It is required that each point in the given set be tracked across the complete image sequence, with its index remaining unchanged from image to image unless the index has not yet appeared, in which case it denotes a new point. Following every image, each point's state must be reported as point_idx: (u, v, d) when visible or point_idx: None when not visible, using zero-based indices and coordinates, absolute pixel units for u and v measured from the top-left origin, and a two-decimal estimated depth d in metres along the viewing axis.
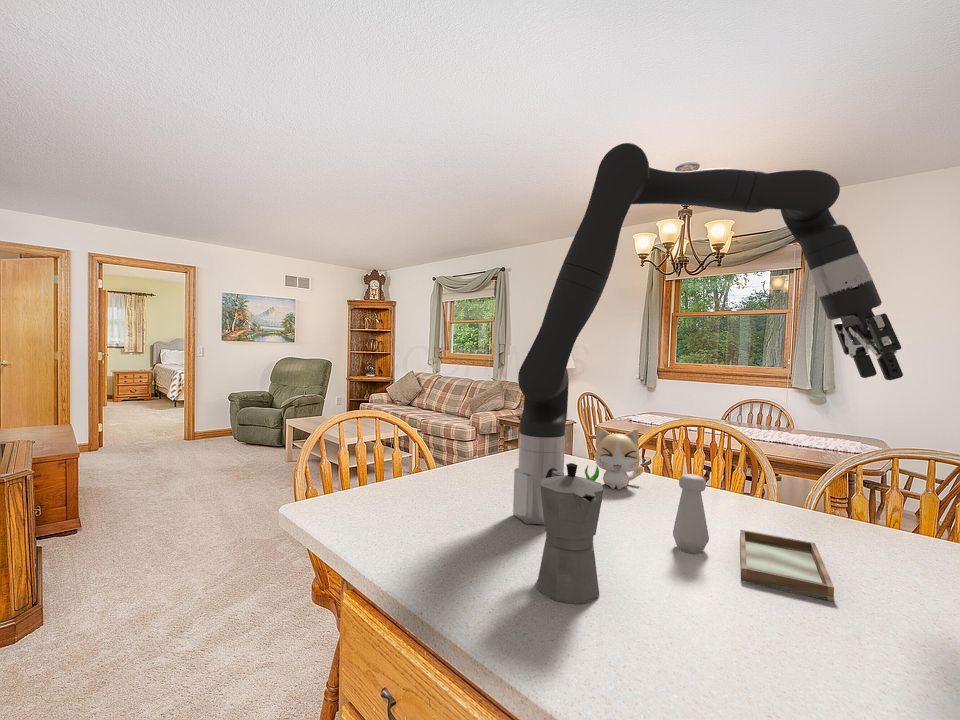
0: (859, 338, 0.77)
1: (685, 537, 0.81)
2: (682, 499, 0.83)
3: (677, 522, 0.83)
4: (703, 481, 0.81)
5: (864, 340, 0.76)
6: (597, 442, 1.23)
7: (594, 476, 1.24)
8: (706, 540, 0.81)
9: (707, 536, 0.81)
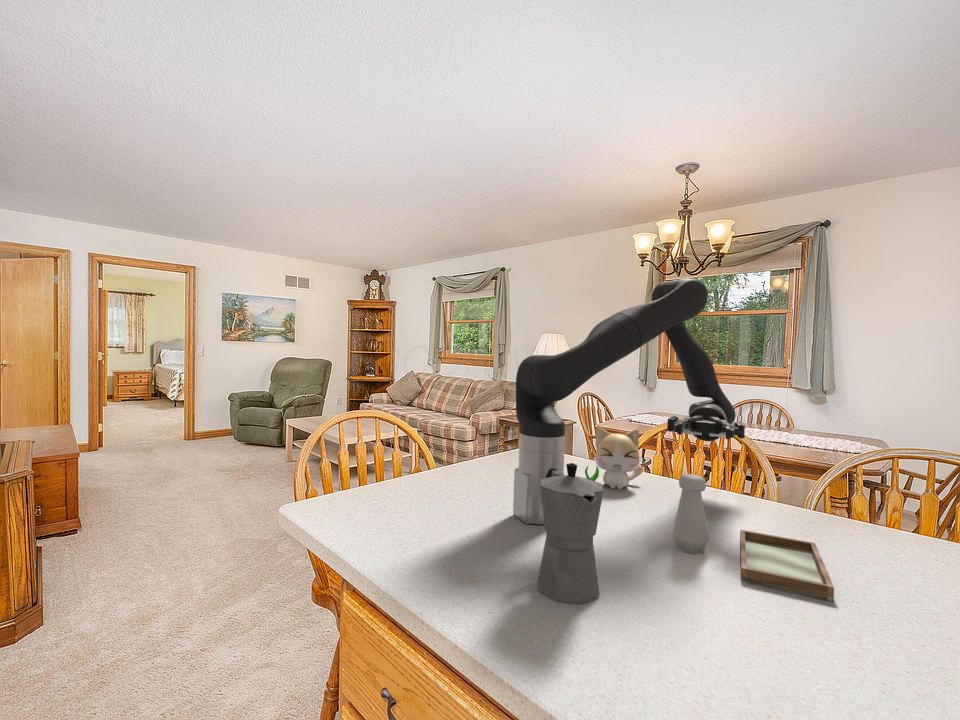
0: (719, 419, 0.97)
1: (685, 537, 0.81)
2: (682, 499, 0.83)
3: (677, 522, 0.83)
4: (703, 481, 0.81)
5: (724, 421, 0.96)
6: (597, 442, 1.23)
7: (594, 476, 1.24)
8: (706, 540, 0.81)
9: (707, 536, 0.81)
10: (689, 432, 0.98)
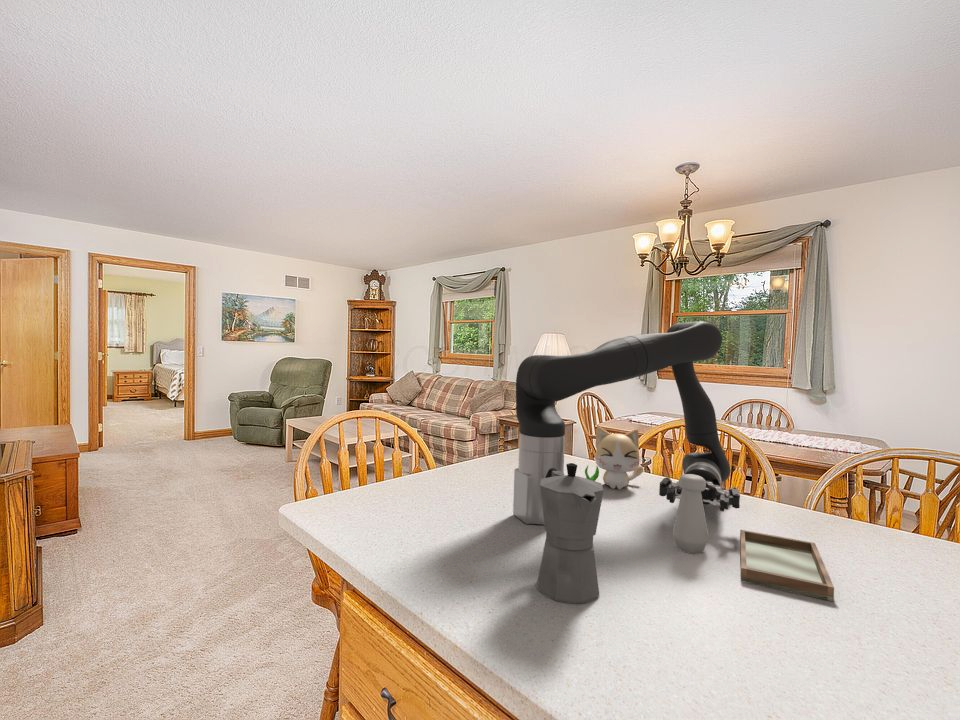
0: (713, 485, 0.93)
1: (685, 537, 0.81)
2: (682, 499, 0.83)
3: (677, 522, 0.83)
4: (703, 481, 0.81)
5: None
6: (597, 442, 1.23)
7: (594, 476, 1.24)
8: (706, 540, 0.81)
9: (707, 536, 0.81)
10: None
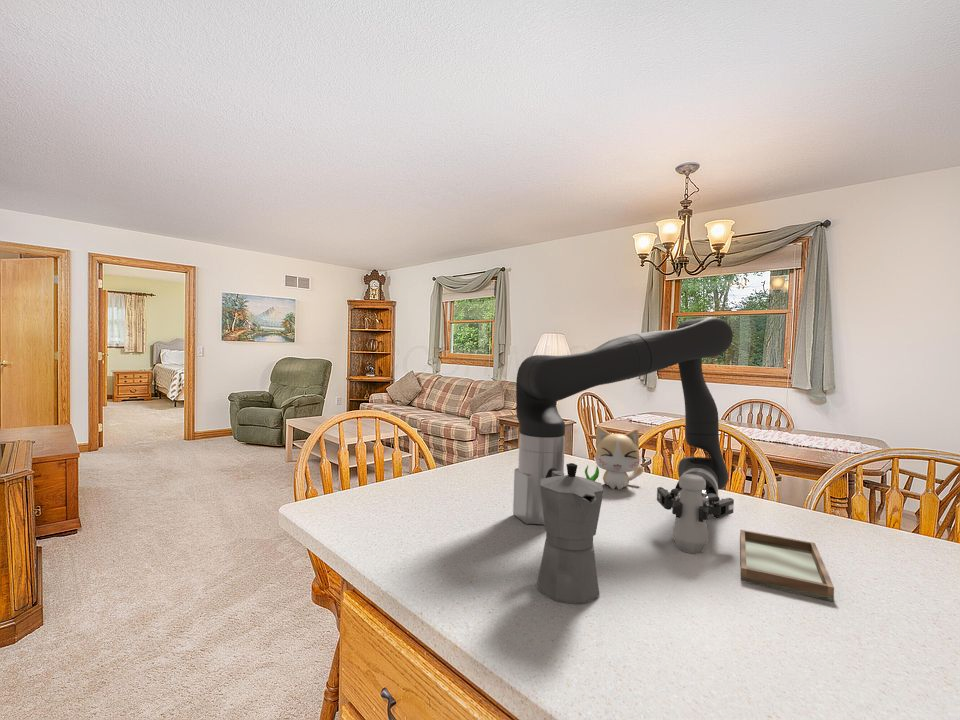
0: (703, 494, 0.87)
1: (684, 537, 0.81)
2: (682, 499, 0.83)
3: (677, 522, 0.83)
4: (703, 481, 0.81)
5: (707, 496, 0.86)
6: (597, 442, 1.23)
7: (594, 476, 1.24)
8: (706, 540, 0.81)
9: (707, 536, 0.81)
10: None
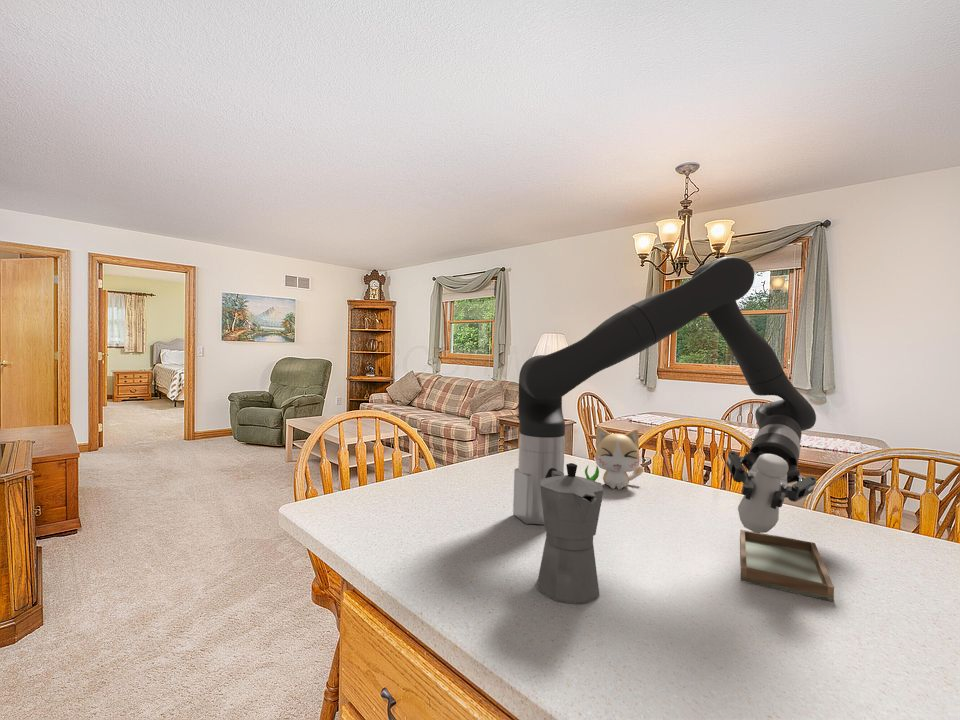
0: None
1: (751, 518, 0.76)
2: (756, 480, 0.75)
3: (745, 500, 0.77)
4: (785, 468, 0.72)
5: (786, 474, 0.77)
6: (597, 442, 1.23)
7: (594, 476, 1.24)
8: (775, 523, 0.75)
9: (777, 519, 0.76)
10: None
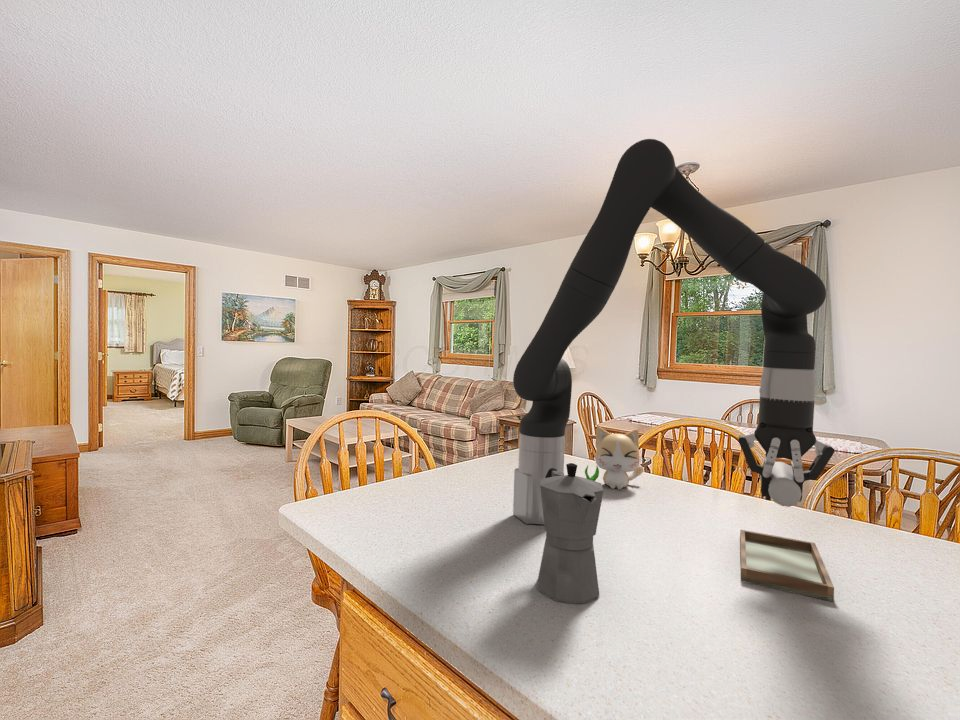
0: (796, 455, 0.75)
1: None
2: None
3: None
4: (798, 501, 0.72)
5: (801, 461, 0.75)
6: (597, 442, 1.23)
7: (594, 476, 1.24)
8: None
9: None
10: None
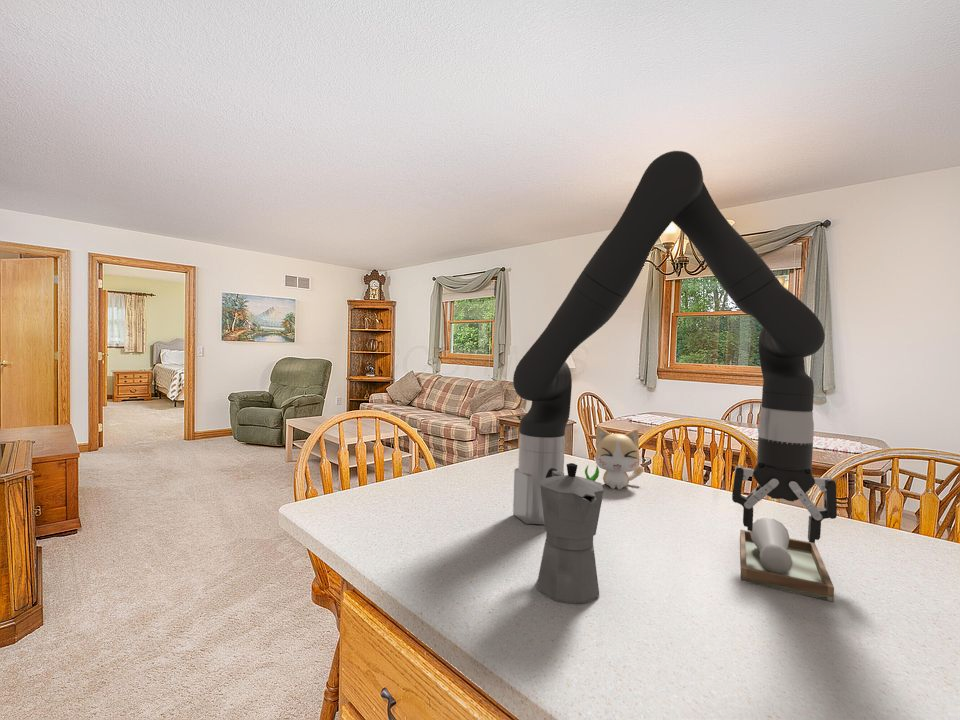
0: (802, 495, 0.74)
1: None
2: None
3: None
4: (791, 565, 0.72)
5: (809, 499, 0.74)
6: (597, 442, 1.23)
7: (594, 476, 1.24)
8: (788, 539, 0.80)
9: (788, 536, 0.80)
10: None
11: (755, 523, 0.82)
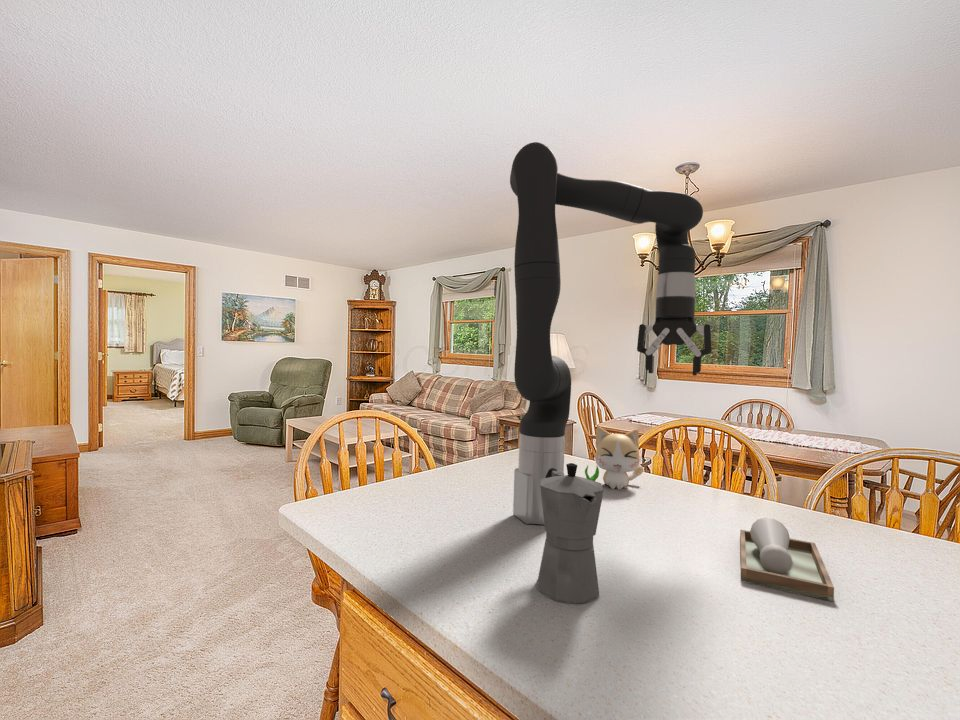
0: (686, 338, 0.96)
1: None
2: None
3: None
4: (791, 565, 0.72)
5: (691, 340, 0.95)
6: (597, 442, 1.23)
7: (594, 476, 1.24)
8: (789, 539, 0.80)
9: (788, 537, 0.80)
10: (659, 346, 1.01)
11: (755, 523, 0.82)
